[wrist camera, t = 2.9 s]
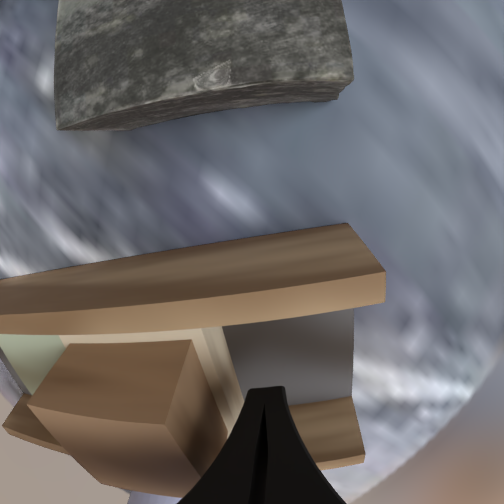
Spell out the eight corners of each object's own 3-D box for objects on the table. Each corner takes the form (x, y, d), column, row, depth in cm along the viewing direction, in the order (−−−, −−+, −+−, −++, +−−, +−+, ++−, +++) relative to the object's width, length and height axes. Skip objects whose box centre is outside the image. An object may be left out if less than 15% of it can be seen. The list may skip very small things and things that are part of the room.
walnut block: (228, 430, 13) (219, 500, 9) (123, 426, 14) (100, 483, 10) (191, 339, 11) (164, 424, 7) (70, 343, 12) (26, 404, 8)
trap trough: (349, 401, 16) (363, 462, 12) (32, 398, 19) (9, 434, 15) (347, 223, 12) (385, 271, 8) (-33, 286, 15) (-70, 316, 11)
